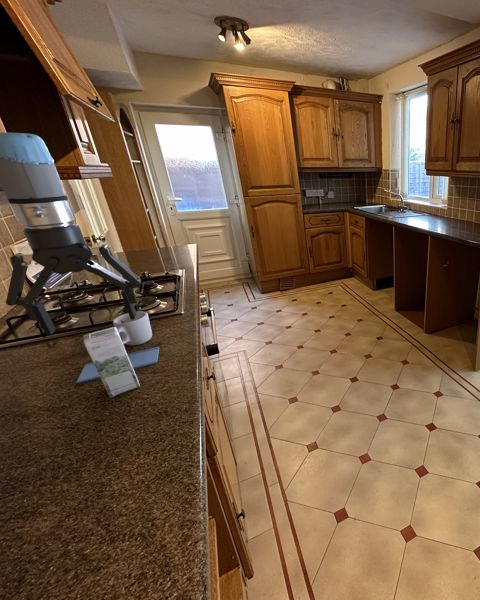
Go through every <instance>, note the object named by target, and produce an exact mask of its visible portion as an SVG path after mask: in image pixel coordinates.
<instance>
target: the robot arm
mask: <svg viewBox="0 0 480 600" xmlns="http://www.w3.org/2000/svg"><path fill="white" fill-rule="evenodd" d="M0 192H3V193H4V194H5V195H4V196H5V197H6V199H7V202H8V203H9V205H10V208H11V210H12V211H13V214H14V215H15V217H16V219H17V222H18V223H19V225H20V226H22V227H25V228H24V229H23V230H22V232H23V234H24V237H25V239H26V241H27V242H28V245H29V247H30V249H31V251H32V254H31V253H29V254H24V253H21V252H17V253H15V254H13V255H12V256H10V257H9V260H10V263H11V266H12V272H11V276H10V282H9V286H8V291H7V295H6V300H5V304H6V305H7V306H10V307H13V306H21V307H23V308H24V310H25V312H26V314H27V315H28V317H29V319H30V320H31V321H32V322H34V321H38V323H39V325H40V327H41V328H42V330H43V332H44V334H45V336H46V337H47V336H52V335H53V333H54V332H55V331H56V327H55V325H54V322H53V320H52V319H51V317H50V315H49V313H48V311H47V308H46V307H45V305H44V303H43V301H42V300H39V301H36V300H37V298H38V297H39V295H40V294H41V292H42V291H43V289H44V287H45V286H46V284H47V283H48V282H49V280H50V279H51V277H52V275H53V274H58V275H65V274H68V273H80V272H82V271H86V272H89V274H91V273H92V274H94V275H96V276H98V277H99V278H101V279H103V280H105V281H107V282H109V283H111V284H112V285H114V286H117V287H118V288H120V289H121V291H120V295H121V297H122V301H123V303H124V305H125V308H126V311H127V313H129V316H130V319H135V318H136V312H137V311H136V309H135V306H134V304H136V303H137V302H138V301H137V300H138V297H137V295H136V293H135V290H134V289H135V288H136V287H139V286H141V283H142V279H141V278H140V277H139V276H138V275H137V274H136V273H135V272H134V271H132V269H130V268H129V267H128V266H127V265H125V263H123V261H121V260H120V259H119V258H118V257H117V256H116V255H115V254H114V253H113V252H112V250H111V248H110V246H109V245H108V244H106V243H104V244H102V245H101V246H95V247H90V246H89V245H88V244H87V242H86V239H85V237H84V235H83V232H82V230H81V227H80V225H79V224H77V223H76V222H75V221H77V216H76V215H75V212H74V210H73V208H72V205H71V203H70V201H69V198H68V196H67V193H66V190H65V187H64V185H63V183H62V180H61V177H60V175H59V172H58V170H57V167H56V164H55V160H54V158H53V157H52V155H51V153H50V151H49V149H48V147H47V145H46V143H45V141H44V139H42V137H40V136H38V135H37V134H34V133H26V132H25V133H24V132H1V131H0ZM93 255H96V256H97V257H99V258H101V259H104V261H105V262H107V264H109V265H110V266H111V267H112V268H113V269H114V270H115V271H116V272H118V274H120V275H121V276H123V277H121V276H120V275H118V274H116V273H114V272H112V271H110V270H109V269H107V268H105V267H103V266H101V265H100V264H99V263H98V262H97V261H94V260H92V257H93ZM32 262H35V263H36V264H38V265H39V266H41V267H43V268H42V270H41V272H40V273H39V275H38V277H37V278H36V280H35V281H34V283H33V284H32V286H31V287H30V289H29V291H28V292H27V293H26V295H25V296H22V295H23V291H24V286H25V281H26V277H27V272H28V267H29V266H31V265H32Z"/></svg>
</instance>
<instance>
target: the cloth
mask: <svg viewBox="0 0 480 600" xmlns="http://www.w3.org/2000/svg"><path fill="white" fill-rule="evenodd" d="M159 353H160V346H155V347H150V348H147V349H142V350H137V351H134V352H130V353H127V355H128V358H129V360H130V362H131V365H132V367H133V369H134V370H139V369H141V368H145V367H150V366H153V365H157V364H158V361H159ZM99 379H101V378H100V376H99V374H98V372H97V370H96V368H95V365H94V363H93V361H92V362H87V363H85V364H84V367H83V368H82V370H81V372H80V374H79V376H78V379H77V380H76V381H75V385H80V384H83V383H88V382H92V381H96V380H99Z"/></svg>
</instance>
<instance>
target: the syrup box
mask: <svg viewBox="0 0 480 600" xmlns="http://www.w3.org/2000/svg"><path fill="white" fill-rule="evenodd" d="M82 339H83V344H84V347H85V350H86V351H87V353H88V355H89V357H90V359H91V361H92V362H93V363H94V365H95V368H96V370H97V372H98V374H99V376H100V378H99V379H100V380H101V382H102V384H103V387H104V388H105V390H106V393H107V395H108V397H109V398H113V397H116V396H120V395H122V394H124V393H127V392H130V391H132V390H135V389H138V388H141V387H140V386H141V385H140V382H139V379H138V376H137V374H136V372H135V369H133V367H132V365H131V362H130V360H129V358H128V355H127V354H128V353H127V350H126V348H125V344H123V343H122V337H121V336H120V334H119V333H118V331H117V329H116V327H115V326H112V327H109V328H104V329H101V330H97V331H93V332H89V333H87V334H83V337H82Z"/></svg>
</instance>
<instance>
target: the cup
mask: <svg viewBox="0 0 480 600" xmlns="http://www.w3.org/2000/svg"><path fill="white" fill-rule="evenodd" d="M112 324H113V325H114V326H113V327H116V329H117V331H118V333H119V335H120V338H121V340H122V343H123V345H125V344H126V345H128V346H139V345H142V344H145V343H147V342H149V341H150V340H151V339H152V338H153V331H152V327H151V322H150V318H149V314H148V312H146V311H141V310H140V311H139V310H137V311H136V318H135V319H130V316H129V313H128V312H127V313H124V314H121V315H119V316H117V317H115V318H114V319H113V321H112Z"/></svg>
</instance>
